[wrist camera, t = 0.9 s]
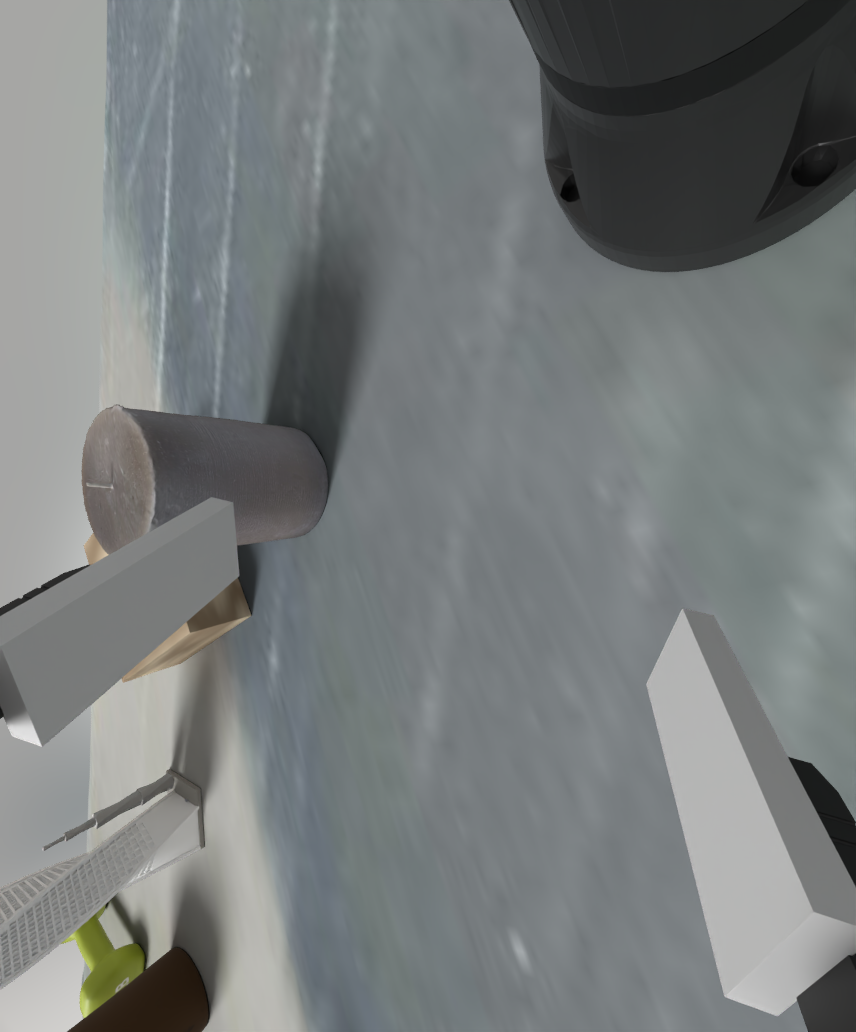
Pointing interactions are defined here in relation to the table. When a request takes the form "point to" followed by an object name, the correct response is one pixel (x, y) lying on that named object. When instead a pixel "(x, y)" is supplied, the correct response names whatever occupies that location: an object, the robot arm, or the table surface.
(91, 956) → the dumbbell
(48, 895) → the skyscraper
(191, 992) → the olive oil
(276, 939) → the table surface
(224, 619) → the oak block
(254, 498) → the pillar candle
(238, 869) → the table surface
